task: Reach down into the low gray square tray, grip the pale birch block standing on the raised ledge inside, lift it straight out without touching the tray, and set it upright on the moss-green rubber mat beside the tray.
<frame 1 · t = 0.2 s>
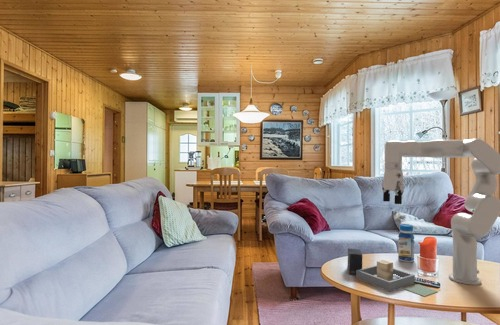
hand: (392, 202, 153), 36 cm above the table, tool pointing down, fingers open, 9 cm apart
gray square tray: (384, 281, 150), on the table
small box: (354, 272, 162), on the table
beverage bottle: (406, 260, 182), on the table
mat: (421, 290, 139), on the table
birch block: (384, 276, 150), point 2 cm above the table, touching gray square tray
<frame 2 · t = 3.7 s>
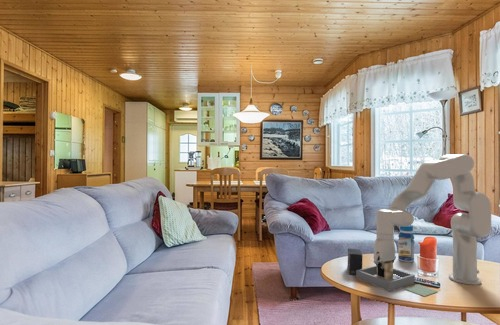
hand: (384, 274, 150), 3 cm above the table, tool pointing down, fingers closed on birch block, 5 cm apart
birch block: (384, 276, 150), point 2 cm above the table, touching gray square tray, gripper
everything else where it was.
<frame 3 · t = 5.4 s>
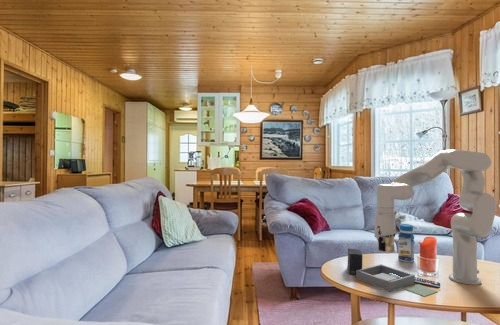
hand: (386, 249, 150), 15 cm above the table, tool pointing down, fingers closed on birch block, 5 cm apart
birch block: (386, 251, 150), point 14 cm above the table, touching gripper
everything else where it was.
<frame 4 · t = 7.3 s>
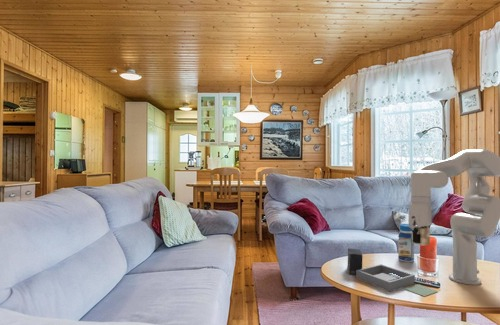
hand: (420, 241, 139), 21 cm above the table, tool pointing down, fingers closed on birch block, 5 cm apart
birch block: (420, 243, 139), point 20 cm above the table, touching gripper
everything else where it was.
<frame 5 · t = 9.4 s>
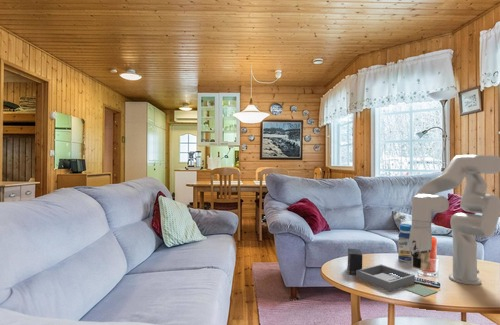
hand: (420, 265, 139), 11 cm above the table, tool pointing down, fingers closed on birch block, 5 cm apart
birch block: (420, 268, 139), point 10 cm above the table, touching gripper
everything else where it was.
when the fingers open (3 cm above the table, at t = 11.3 s): birch block drops 1 cm, resting on mat.
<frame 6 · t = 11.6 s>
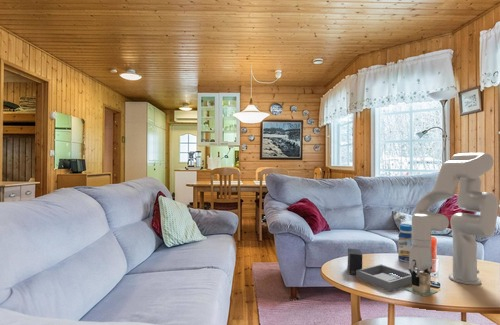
hand: (421, 283, 139), 3 cm above the table, tool pointing down, fingers open, 7 cm apart
birch block: (421, 289, 139), resting on mat
everything else where it was.
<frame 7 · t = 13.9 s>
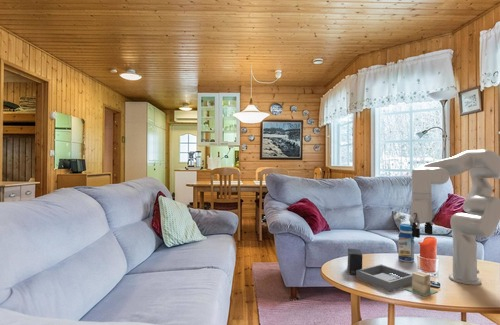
hand: (422, 235, 141), 23 cm above the table, tool pointing down, fingers open, 9 cm apart
nothing on the table moved.
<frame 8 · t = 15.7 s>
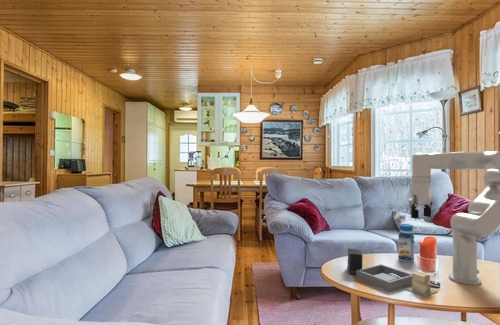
hand: (421, 217, 147), 30 cm above the table, tool pointing down, fingers open, 9 cm apart
nothing on the table moved.
at the end: birch block inside the target area (0.1 cm from its centre), resting on mat; birch block tilted 0°; birch block touching mat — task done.
